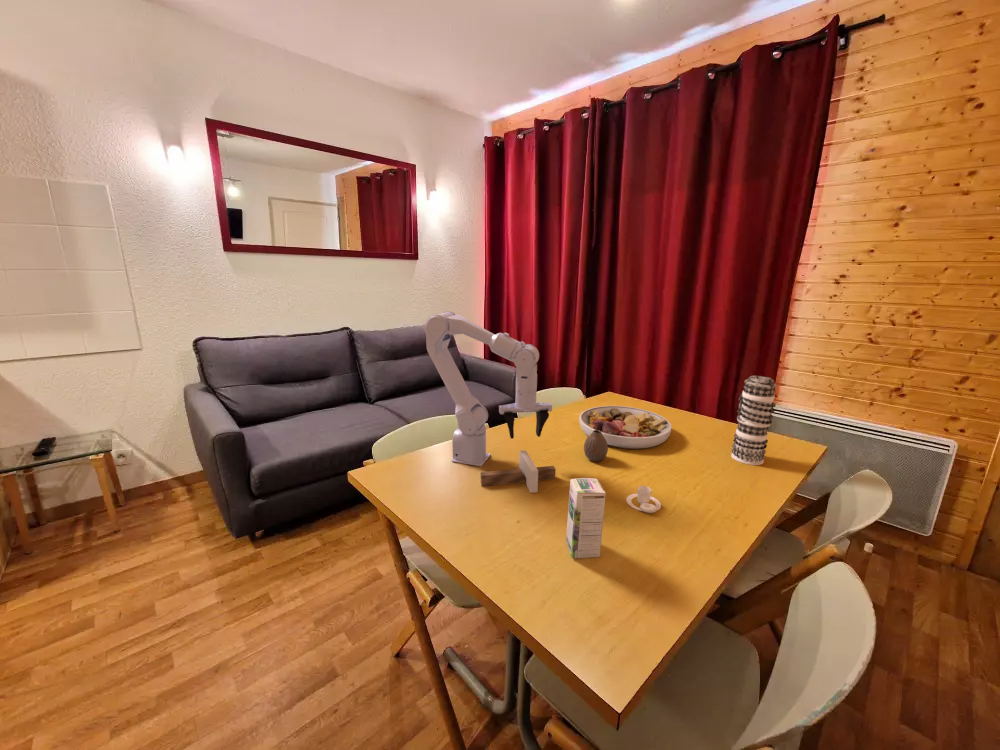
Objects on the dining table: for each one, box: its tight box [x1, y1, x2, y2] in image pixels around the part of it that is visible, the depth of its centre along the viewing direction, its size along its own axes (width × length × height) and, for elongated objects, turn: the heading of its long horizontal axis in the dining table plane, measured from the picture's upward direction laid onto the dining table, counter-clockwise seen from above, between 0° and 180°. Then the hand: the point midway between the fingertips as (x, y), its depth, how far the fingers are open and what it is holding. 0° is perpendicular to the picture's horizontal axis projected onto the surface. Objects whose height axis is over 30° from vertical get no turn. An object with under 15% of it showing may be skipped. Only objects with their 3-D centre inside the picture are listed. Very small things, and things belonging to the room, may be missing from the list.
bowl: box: [578, 405, 672, 450], centre depth 141 cm, size 30×30×8 cm
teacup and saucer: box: [626, 485, 662, 514], centre depth 99 cm, size 9×8×4 cm
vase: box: [583, 430, 609, 463], centre depth 121 cm, size 7×7×9 cm
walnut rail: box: [480, 465, 557, 487], centre depth 109 cm, size 20×2×3 cm, turn 101°
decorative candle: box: [730, 375, 778, 466], centre depth 120 cm, size 9×9×25 cm
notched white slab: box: [518, 450, 539, 494], centre depth 109 cm, size 12×2×6 cm, turn 11°
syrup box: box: [565, 477, 607, 559], centre depth 82 cm, size 6×6×14 cm
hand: (524, 436), depth 116 cm, fingers open, 7 cm apart
